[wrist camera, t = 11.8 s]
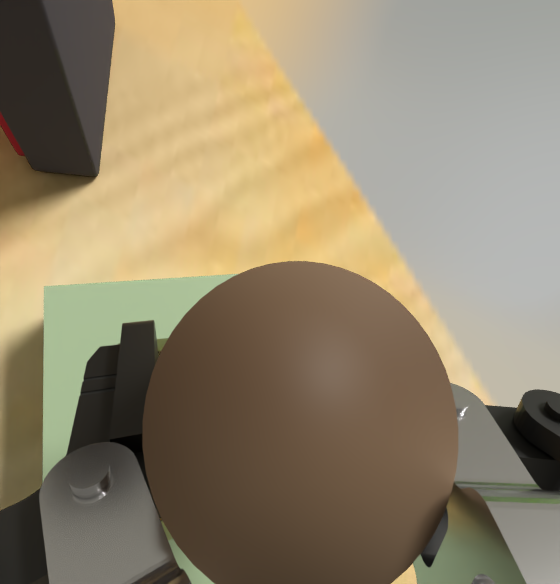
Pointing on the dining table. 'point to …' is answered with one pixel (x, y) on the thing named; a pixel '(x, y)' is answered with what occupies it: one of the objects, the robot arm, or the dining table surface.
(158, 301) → the socket block
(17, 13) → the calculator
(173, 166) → the dining table surface
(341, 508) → the walnut pin
